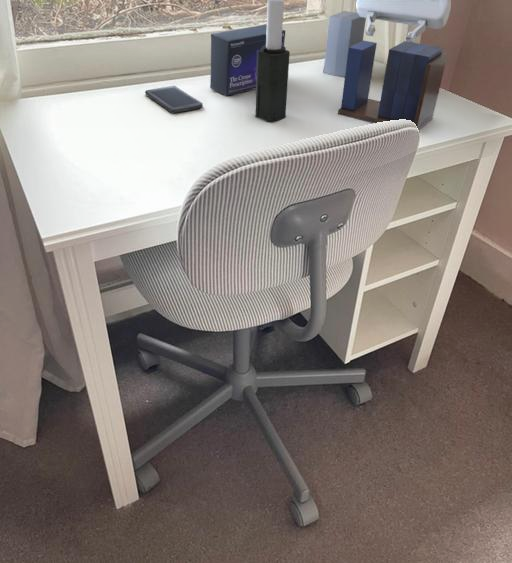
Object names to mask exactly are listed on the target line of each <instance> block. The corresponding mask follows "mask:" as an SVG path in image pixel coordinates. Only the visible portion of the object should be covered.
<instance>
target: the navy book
mask: <svg viewBox="0 0 512 563" xmlns="http://www.w3.org/2000/svg"><path fill="white" fill-rule="evenodd" d="M377 44H378V43H377V42H374V41H368V40H363V41H361V42H359V43H357V44H355V45H353V46H351V47H349V49H348V57H347V64H346V72H345V77H344V80H343V82H344V83H343V88H342V96H341V104H340V108H344V109H348V110H352V111H354V110H356V109H357V108H359V107H360V106H362V105H363V104H365V103H366V102H368V99H369V95H370V90H371V84H372V83H371V82H372V75H373V69H374V63H375V57H376V50H377V46H378V45H377Z"/></svg>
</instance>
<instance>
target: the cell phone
mask: <svg viewBox="0 0 512 563" xmlns="http://www.w3.org/2000/svg"><path fill="white" fill-rule="evenodd" d="M144 93H145V95H146V96H148V98H150V99H151V100H153V101H154V102H155V103H157V104H159V105H160V106H161V107H162V108H164V109H165V110H167V111H168V112H170V113H172V114H177V113H182V112H188V111H193V110H197V109H201V108H202V107H204V105H203V102H201V101H200V100H198V99H196V98H195V97H193V96H192V95H190V94H188V92H186V91H183V90H182V89H180V87H178V86H175V85H169V86H164V87H157V88H152V89H145V92H144Z"/></svg>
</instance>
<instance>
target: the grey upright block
mask: <svg viewBox="0 0 512 563" xmlns="http://www.w3.org/2000/svg"><path fill="white" fill-rule="evenodd" d="M366 21H367V18H365V17H360V16H359V14H358V12H353V11H347V10H343V11H340V12H337V13H335V14H332V15H329V18H328V24H327V33H326V34H327V35H326V44H325V53H324V54H325V55H324V63H323V74H327V75H332V76H337V77H341V78H345V72H346V64H347V57H348V49H349V47H351V46H353V45H355V44H357V43H359V42H361V41H364V34H365V30H366V28H365V27H366Z"/></svg>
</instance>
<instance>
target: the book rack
mask: <svg viewBox="0 0 512 563" xmlns="http://www.w3.org/2000/svg"><path fill="white" fill-rule="evenodd" d="M443 49H444V47H440V46H435V45H428V44H423V43H417V42H414V43H413V42H407V40H404V41H402V42H400V43H399V44H396V45H395V46H393V47H391V48H389V50H388V54H387V59H386V66H385V71H384V78H383V83H382V88H381V94H380V100H376V99H372V98H368V102H366V103H365V104H363V105H362V106H360V107H359V108H357V109H356V110H354V111H352V110H348V109H344V108H341V107H340V108H338V110H337V115H341V116H345V117H349V118H353V119H356V120H361V121H364V122H367V123H368V122H369V123H373V124H376V123H377V122H383V121H390V120H399V119H406V120H411V121H412V122H414V123H415V124H416V126H417V128H418V130H419V131H420V130H421V129H423V128H424V127H425V126H426V125H427V124H428V123H429V122H430V121H431V120H432V119H433V118H434V113H435V111H436V110H435V109H436V105H437V101H438V97H439V93H440V88H441V84H442V81H443V75H444V72H445V67H446V64H447V58H448V55H449V52H445V51H444V52H443Z"/></svg>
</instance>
